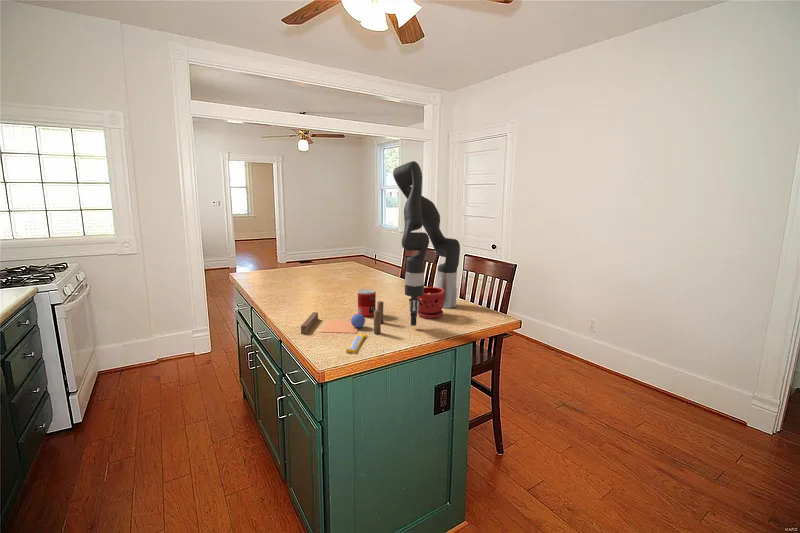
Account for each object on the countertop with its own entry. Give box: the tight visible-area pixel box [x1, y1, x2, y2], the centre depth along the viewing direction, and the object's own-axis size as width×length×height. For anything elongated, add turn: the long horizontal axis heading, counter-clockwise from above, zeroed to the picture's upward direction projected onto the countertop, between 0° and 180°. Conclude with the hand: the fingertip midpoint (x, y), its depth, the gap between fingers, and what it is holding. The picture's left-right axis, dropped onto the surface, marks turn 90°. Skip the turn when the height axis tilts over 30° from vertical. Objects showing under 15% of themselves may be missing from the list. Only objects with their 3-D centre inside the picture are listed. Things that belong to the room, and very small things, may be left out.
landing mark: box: [320, 320, 359, 334], centre depth 153 cm, size 14×14×1 cm
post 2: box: [373, 309, 382, 335], centre depth 145 cm, size 3×3×9 cm
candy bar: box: [345, 333, 368, 354], centre depth 134 cm, size 17×4×2 cm, turn 173°
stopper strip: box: [300, 311, 319, 335], centre depth 153 cm, size 2×18×3 cm, turn 178°
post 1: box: [376, 300, 384, 325], centre depth 158 cm, size 3×3×9 cm
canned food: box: [357, 288, 377, 318], centre depth 168 cm, size 8×8×11 cm
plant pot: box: [417, 286, 445, 320], centre depth 168 cm, size 13×13×12 cm
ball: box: [350, 313, 366, 329], centre depth 152 cm, size 6×6×6 cm
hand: (413, 325), depth 151 cm, fingers closed
